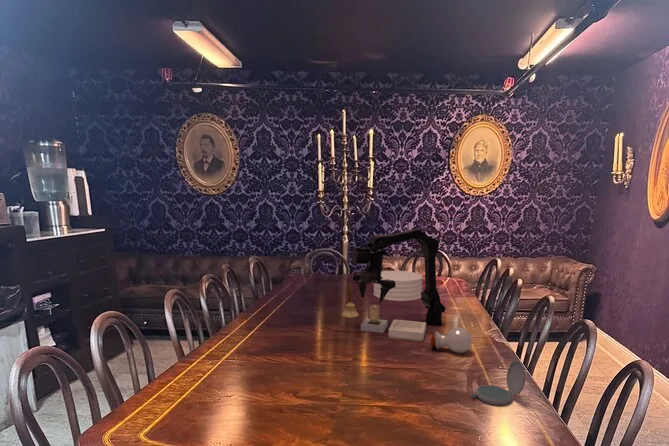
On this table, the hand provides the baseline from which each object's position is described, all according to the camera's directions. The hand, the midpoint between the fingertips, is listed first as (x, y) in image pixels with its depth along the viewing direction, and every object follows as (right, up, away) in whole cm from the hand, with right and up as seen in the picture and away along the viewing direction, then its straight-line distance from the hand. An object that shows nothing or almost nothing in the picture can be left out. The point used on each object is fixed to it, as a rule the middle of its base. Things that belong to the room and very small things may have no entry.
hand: (371, 300), depth 180 cm
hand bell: (-8, -12, +23) cm, 27 cm away
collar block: (+2, -13, +4) cm, 14 cm away
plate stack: (+21, -9, +64) cm, 68 cm away
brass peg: (+2, -13, +4) cm, 14 cm away
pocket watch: (+31, -19, -57) cm, 68 cm away
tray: (+15, -14, -3) cm, 21 cm away
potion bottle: (+28, -16, -22) cm, 39 cm away
